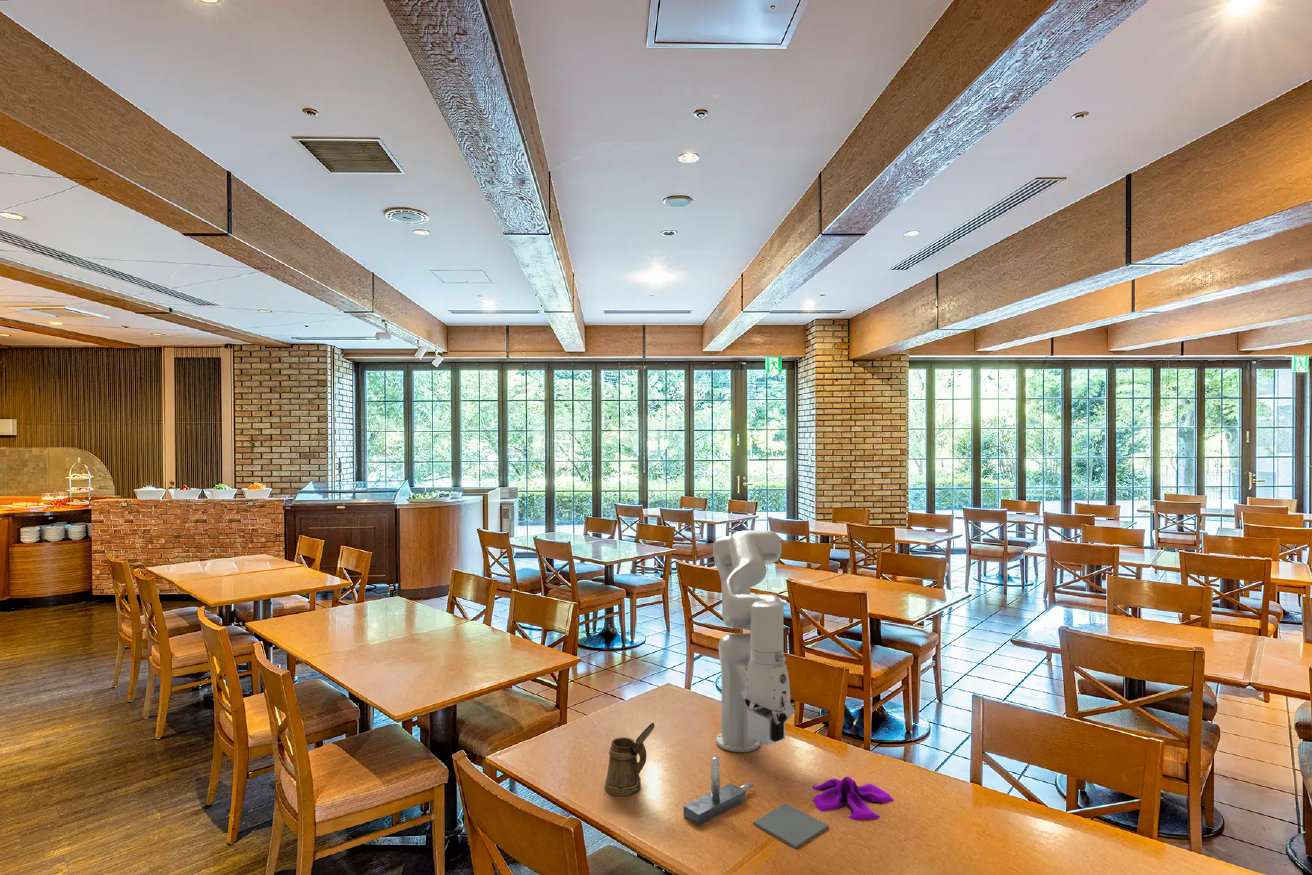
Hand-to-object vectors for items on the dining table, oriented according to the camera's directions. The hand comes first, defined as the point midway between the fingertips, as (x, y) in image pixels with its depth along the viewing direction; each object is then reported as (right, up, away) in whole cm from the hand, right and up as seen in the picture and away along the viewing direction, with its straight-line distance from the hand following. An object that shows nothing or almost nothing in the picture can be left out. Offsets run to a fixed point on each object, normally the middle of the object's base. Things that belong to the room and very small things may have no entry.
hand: (766, 733), depth 149 cm
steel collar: (0, -1, 0) cm, 1 cm away
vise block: (-10, -20, +6) cm, 23 cm away
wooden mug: (-32, -20, +13) cm, 40 cm away
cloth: (+21, -21, +10) cm, 31 cm away
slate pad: (+5, -20, -2) cm, 21 cm away
